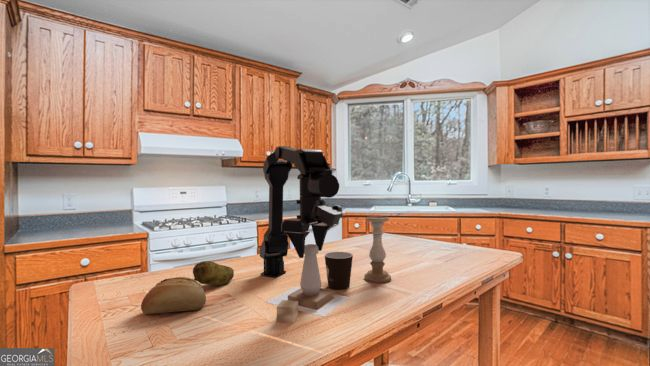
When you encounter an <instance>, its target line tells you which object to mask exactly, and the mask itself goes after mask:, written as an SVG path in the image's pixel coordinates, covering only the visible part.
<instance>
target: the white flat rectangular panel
mask: <svg viewBox="0 0 650 366" xmlns="http://www.w3.org/2000/svg"><path fill="white" fill-rule="evenodd" d="M299 289H301V286H293V287H292V288H290V289H289V290H286V291H285V292H283V293H281V294H279V295H277V296H275V297H273V298H271V299H269V300H267V301H265V302H264V303H266V304H269V305H273V306H276V307H277V306H278V304H279V303H280V302H281V301H282V300H288V295H290V294H291V293H293V292H295V291H297V290H299ZM349 298H350V297H349V296H345V295H340V294H335V293H334V298H333V299H331V300H330V301H329V302H327V303H326V304H324V305H323V306H322V307H320V308H319V309H317V310H316V309H311V308H307V307H303V306H298V312H299V311H300V312H302V313H307V314H311V315H314V316H315V315H316V316H319V317H326V316H327V315H328V314H330V313H331V312H332V311H334V310H335V309H336V308H337V307H338V306H340V305H341V304H342V303H344V302H345V301H346V300H348V299H349Z"/></svg>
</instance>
